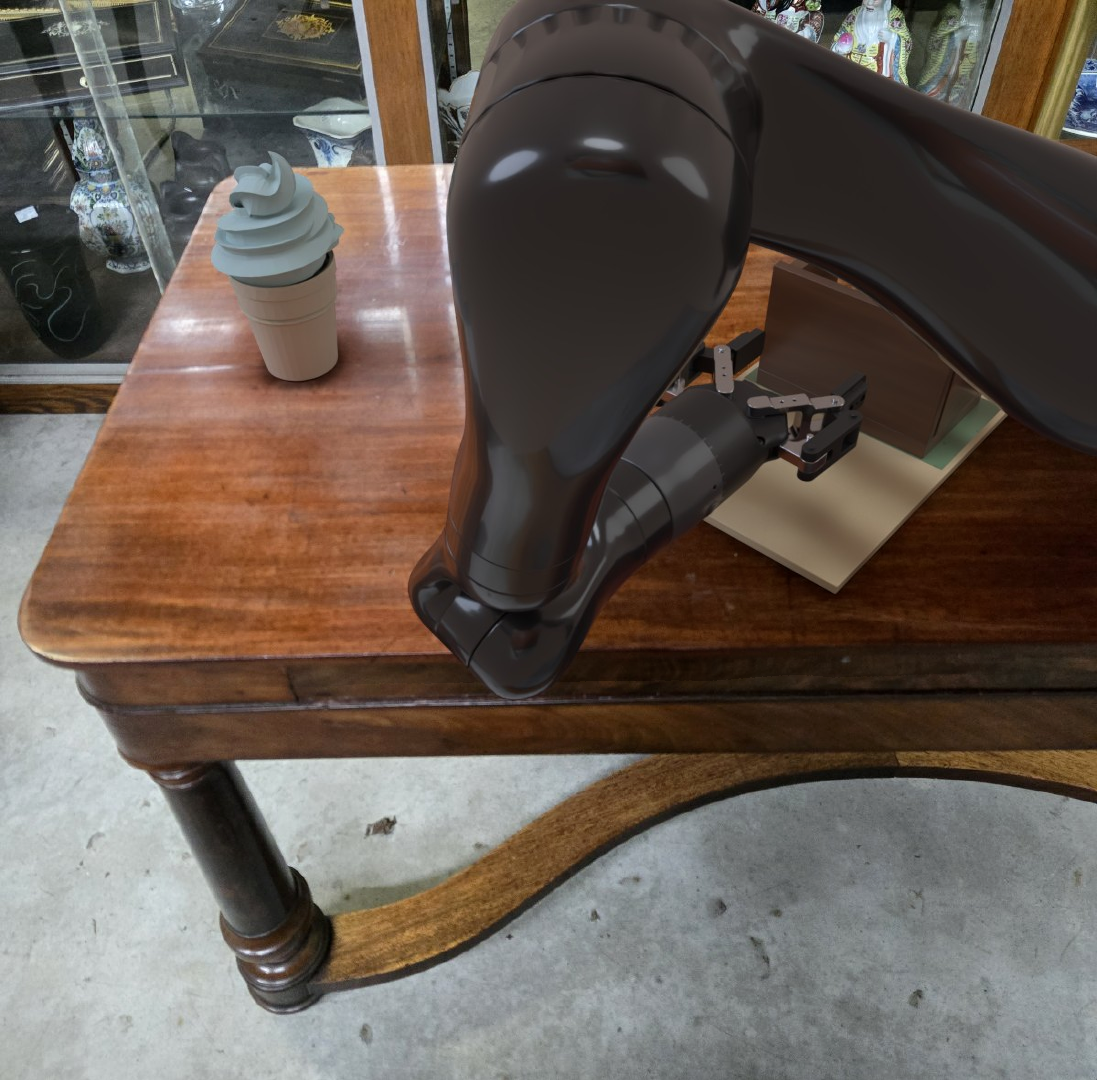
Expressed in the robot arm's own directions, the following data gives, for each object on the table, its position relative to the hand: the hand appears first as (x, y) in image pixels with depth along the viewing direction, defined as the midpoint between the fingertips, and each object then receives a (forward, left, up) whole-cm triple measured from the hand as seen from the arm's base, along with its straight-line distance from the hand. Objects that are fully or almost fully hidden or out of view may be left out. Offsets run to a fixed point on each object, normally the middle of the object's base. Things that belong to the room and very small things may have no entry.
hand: (808, 360), depth 76 cm
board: (-1, -5, -11) cm, 12 cm away
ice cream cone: (+45, +5, -11) cm, 46 cm away
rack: (-3, -12, -10) cm, 16 cm away
